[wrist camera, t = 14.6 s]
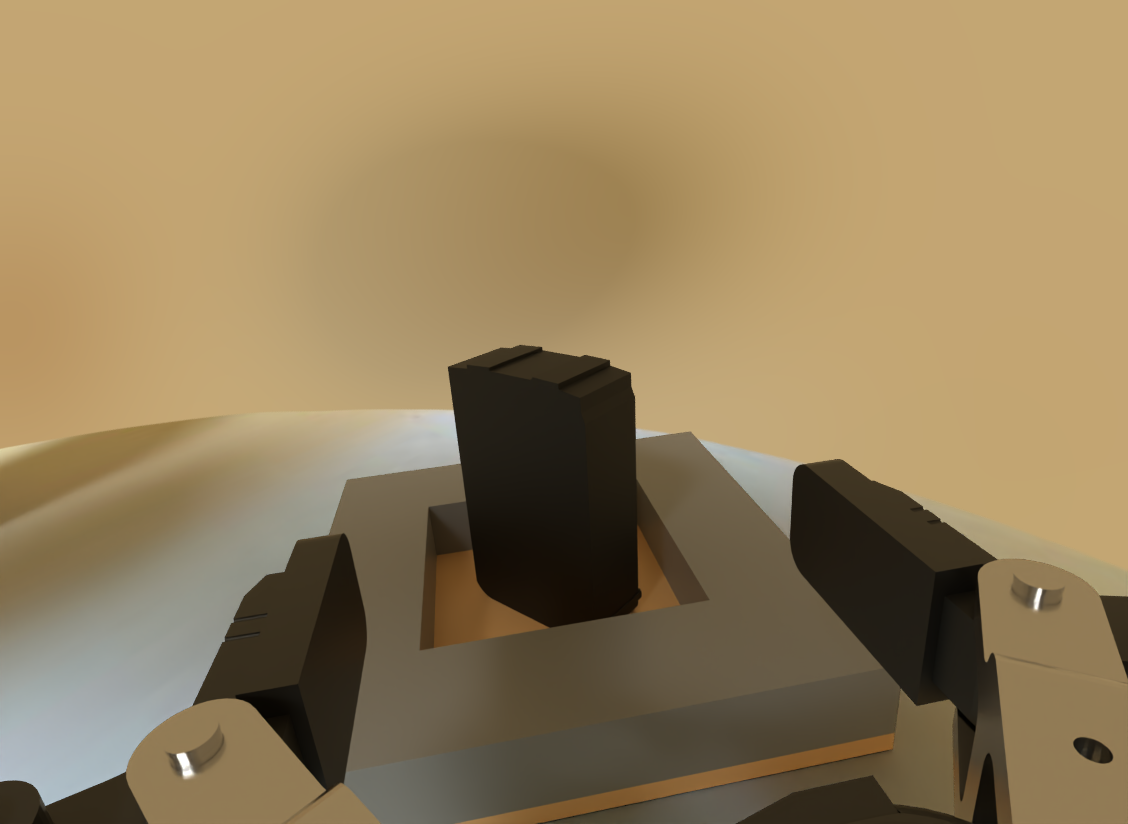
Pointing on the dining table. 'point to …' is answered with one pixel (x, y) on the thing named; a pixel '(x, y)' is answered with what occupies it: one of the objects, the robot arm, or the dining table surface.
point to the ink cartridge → (550, 482)
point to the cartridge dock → (595, 659)
